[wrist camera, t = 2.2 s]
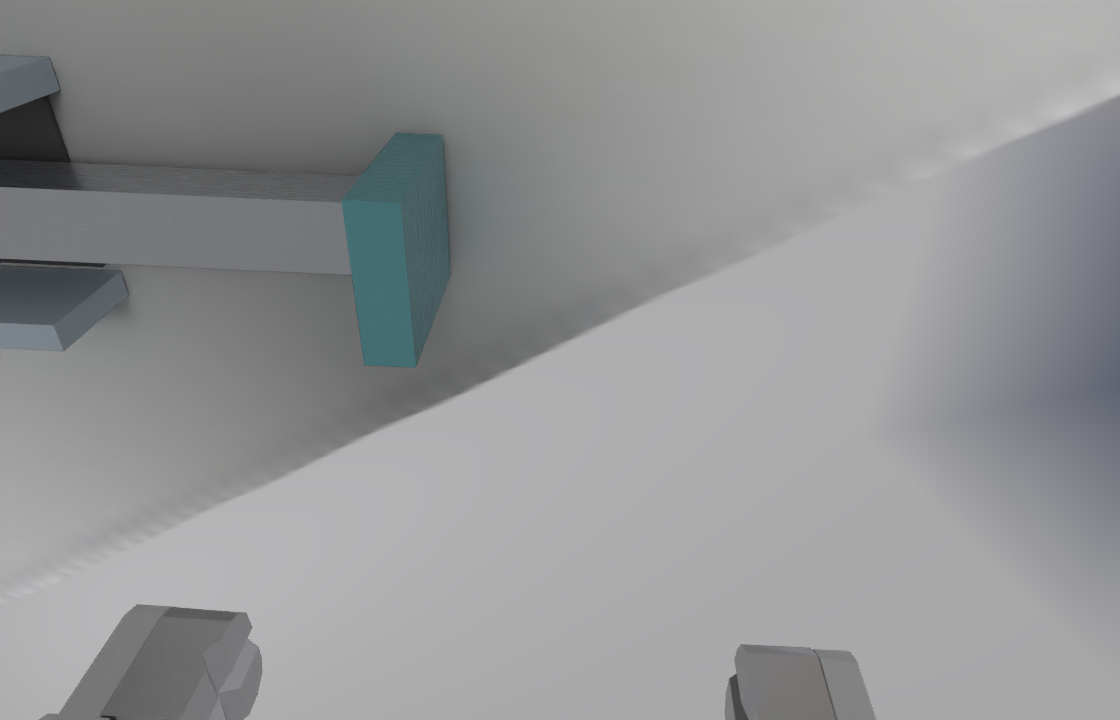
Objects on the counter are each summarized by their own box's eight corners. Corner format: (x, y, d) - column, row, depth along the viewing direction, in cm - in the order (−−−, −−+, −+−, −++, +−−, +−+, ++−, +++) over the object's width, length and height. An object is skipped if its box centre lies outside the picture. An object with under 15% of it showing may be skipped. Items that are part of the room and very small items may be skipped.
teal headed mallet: (-83, 249, 26) (-245, 334, 21) (-154, 108, 23) (-358, 167, 18) (450, 274, 26) (415, 367, 21) (442, 134, 23) (400, 202, 18)
